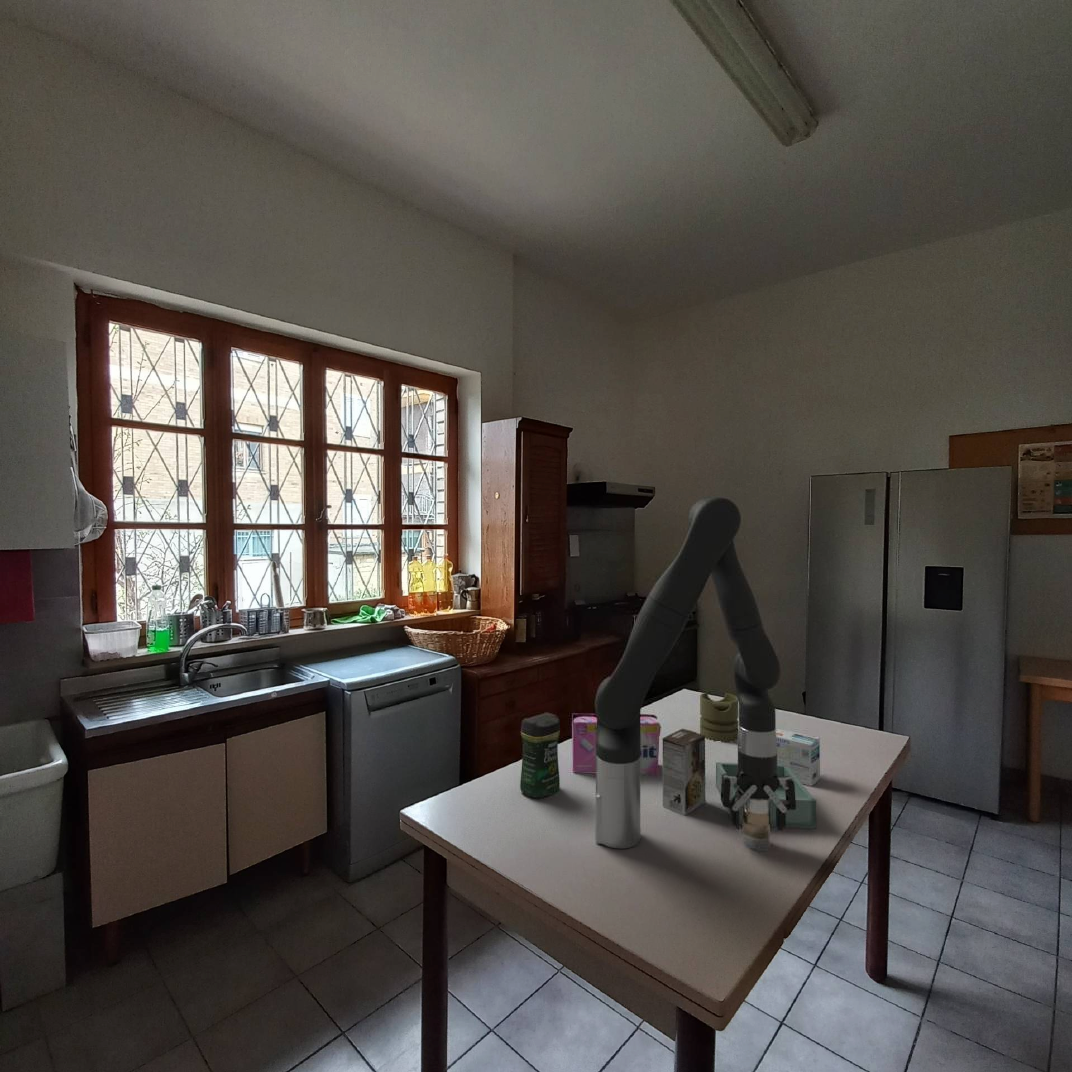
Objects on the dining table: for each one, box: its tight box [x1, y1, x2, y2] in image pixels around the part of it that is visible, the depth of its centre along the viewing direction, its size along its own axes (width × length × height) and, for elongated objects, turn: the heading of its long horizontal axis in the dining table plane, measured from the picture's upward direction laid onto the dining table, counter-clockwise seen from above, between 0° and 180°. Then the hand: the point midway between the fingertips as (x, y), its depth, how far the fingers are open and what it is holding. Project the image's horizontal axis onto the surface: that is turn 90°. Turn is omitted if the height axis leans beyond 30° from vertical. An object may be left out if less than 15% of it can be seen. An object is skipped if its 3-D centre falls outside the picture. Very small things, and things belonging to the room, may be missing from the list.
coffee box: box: [662, 728, 707, 816], centre depth 136 cm, size 9×6×16 cm
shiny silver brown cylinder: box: [741, 798, 771, 852], centre depth 119 cm, size 5×5×10 cm
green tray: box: [715, 761, 817, 829], centre depth 135 cm, size 17×19×6 cm
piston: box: [699, 692, 739, 743], centre depth 181 cm, size 11×12×11 cm
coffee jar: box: [519, 712, 561, 799], centre depth 143 cm, size 10×8×19 cm
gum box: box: [571, 712, 662, 775], centre depth 157 cm, size 24×8×14 cm, turn 87°
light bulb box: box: [776, 728, 821, 787], centre depth 151 cm, size 11×7×11 cm, turn 47°
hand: (757, 827), depth 119 cm, fingers open, 8 cm apart
